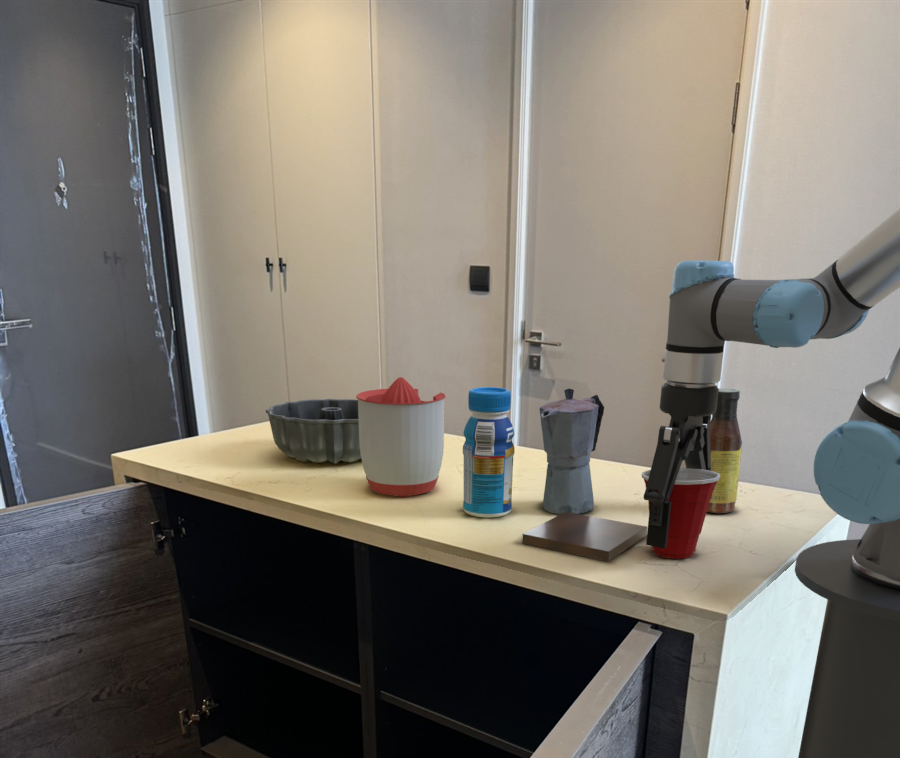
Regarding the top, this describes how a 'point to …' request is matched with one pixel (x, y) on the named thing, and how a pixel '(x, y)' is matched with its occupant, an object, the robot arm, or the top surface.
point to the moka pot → (570, 452)
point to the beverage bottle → (488, 453)
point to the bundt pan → (317, 429)
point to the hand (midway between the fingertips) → (673, 534)
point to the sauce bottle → (725, 451)
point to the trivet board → (585, 535)
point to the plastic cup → (686, 510)
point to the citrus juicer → (401, 439)
